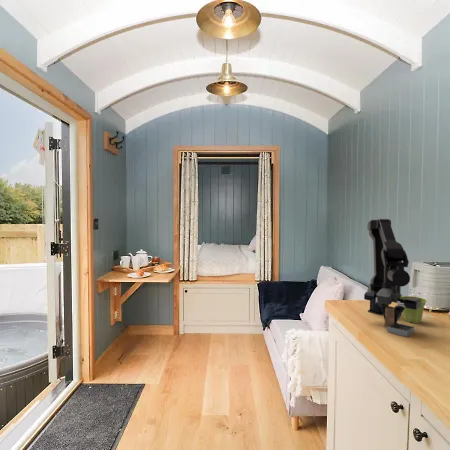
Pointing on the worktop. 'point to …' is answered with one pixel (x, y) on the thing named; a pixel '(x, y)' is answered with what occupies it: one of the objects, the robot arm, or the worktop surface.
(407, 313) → the plant pot
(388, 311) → the brown wooden block
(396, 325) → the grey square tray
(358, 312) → the worktop surface
